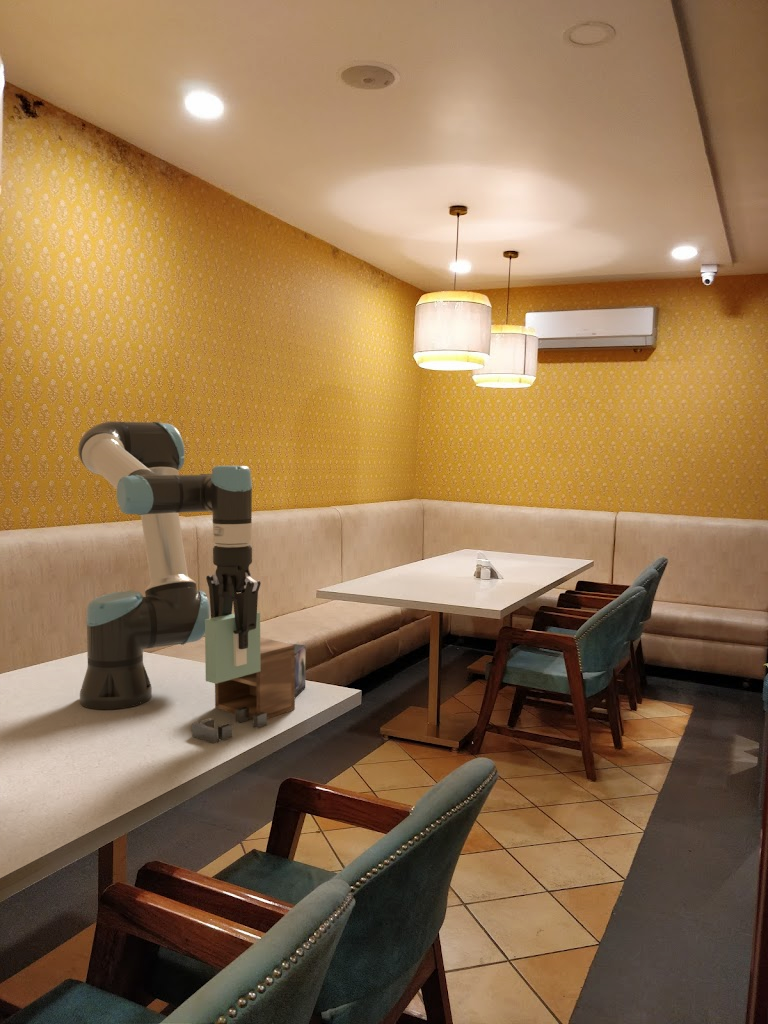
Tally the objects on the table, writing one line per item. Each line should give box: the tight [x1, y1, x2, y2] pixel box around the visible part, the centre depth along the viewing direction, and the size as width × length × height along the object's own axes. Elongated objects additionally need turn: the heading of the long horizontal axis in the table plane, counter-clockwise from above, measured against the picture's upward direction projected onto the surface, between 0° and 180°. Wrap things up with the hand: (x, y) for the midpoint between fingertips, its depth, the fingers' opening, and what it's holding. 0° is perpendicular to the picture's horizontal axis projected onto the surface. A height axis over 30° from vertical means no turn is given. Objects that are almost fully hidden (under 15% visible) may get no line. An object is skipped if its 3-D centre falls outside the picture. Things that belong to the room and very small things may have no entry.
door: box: [204, 611, 261, 685], centre depth 159 cm, size 3×12×12 cm, turn 142°
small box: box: [292, 643, 307, 698], centre depth 184 cm, size 11×6×10 cm, turn 168°
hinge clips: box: [191, 707, 268, 745], centre depth 160 cm, size 6×14×2 cm, turn 142°
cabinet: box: [214, 637, 296, 720], centre depth 173 cm, size 14×10×14 cm
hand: (233, 662), depth 160 cm, fingers closed on door, 3 cm apart
